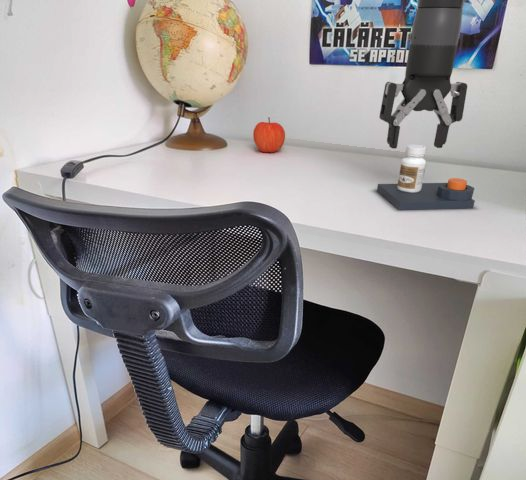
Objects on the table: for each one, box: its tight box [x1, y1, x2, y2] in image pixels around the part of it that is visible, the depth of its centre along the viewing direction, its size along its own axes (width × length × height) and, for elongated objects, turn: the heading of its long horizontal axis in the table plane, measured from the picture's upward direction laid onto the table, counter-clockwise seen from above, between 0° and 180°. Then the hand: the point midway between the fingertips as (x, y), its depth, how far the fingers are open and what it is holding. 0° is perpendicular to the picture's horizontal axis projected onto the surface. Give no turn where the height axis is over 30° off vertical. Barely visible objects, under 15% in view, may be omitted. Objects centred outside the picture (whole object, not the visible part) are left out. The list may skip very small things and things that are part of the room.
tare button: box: [447, 177, 468, 190], centre depth 89 cm, size 3×3×2 cm
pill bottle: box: [397, 144, 427, 193], centre depth 91 cm, size 4×4×8 cm
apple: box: [252, 117, 286, 153], centre depth 123 cm, size 8×8×8 cm
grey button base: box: [376, 182, 476, 211], centre depth 92 cm, size 14×12×3 cm
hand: (415, 147), depth 89 cm, fingers open, 8 cm apart
